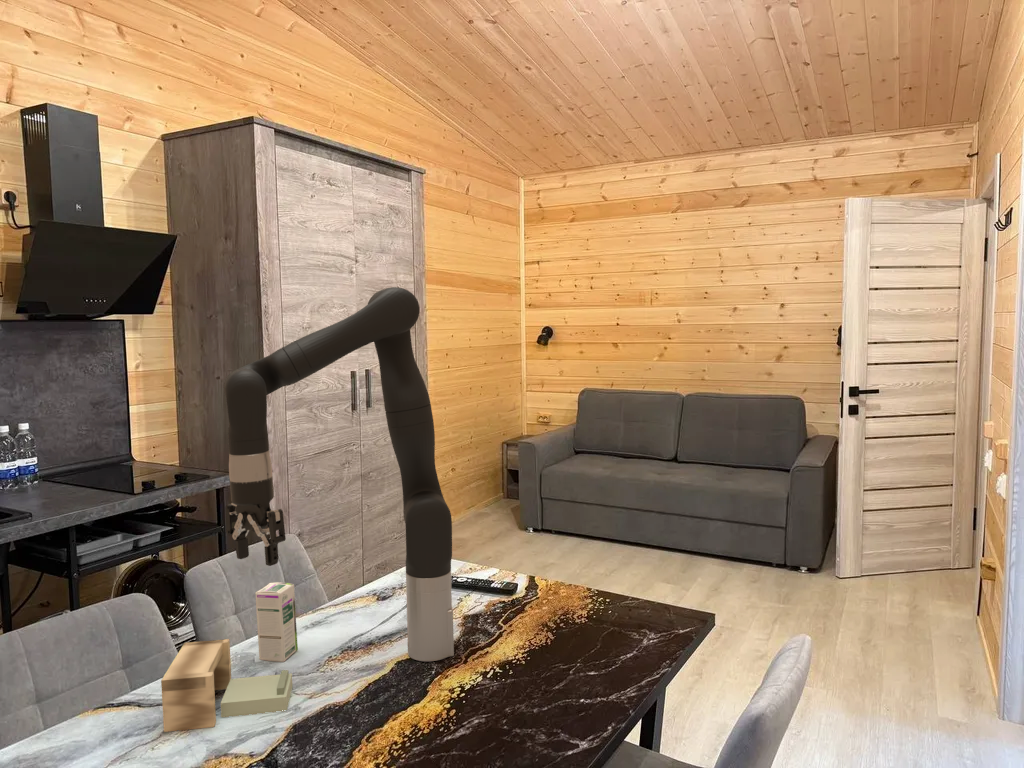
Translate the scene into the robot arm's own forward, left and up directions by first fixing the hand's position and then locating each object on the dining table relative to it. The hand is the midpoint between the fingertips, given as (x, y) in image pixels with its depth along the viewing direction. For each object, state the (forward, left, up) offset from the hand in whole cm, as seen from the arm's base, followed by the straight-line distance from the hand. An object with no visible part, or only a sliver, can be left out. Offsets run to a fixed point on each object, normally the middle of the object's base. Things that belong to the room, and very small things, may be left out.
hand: (257, 561), depth 140 cm
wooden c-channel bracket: (+10, +7, -24) cm, 27 cm away
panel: (0, +7, -24) cm, 25 cm away
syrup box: (-1, -12, -24) cm, 27 cm away
